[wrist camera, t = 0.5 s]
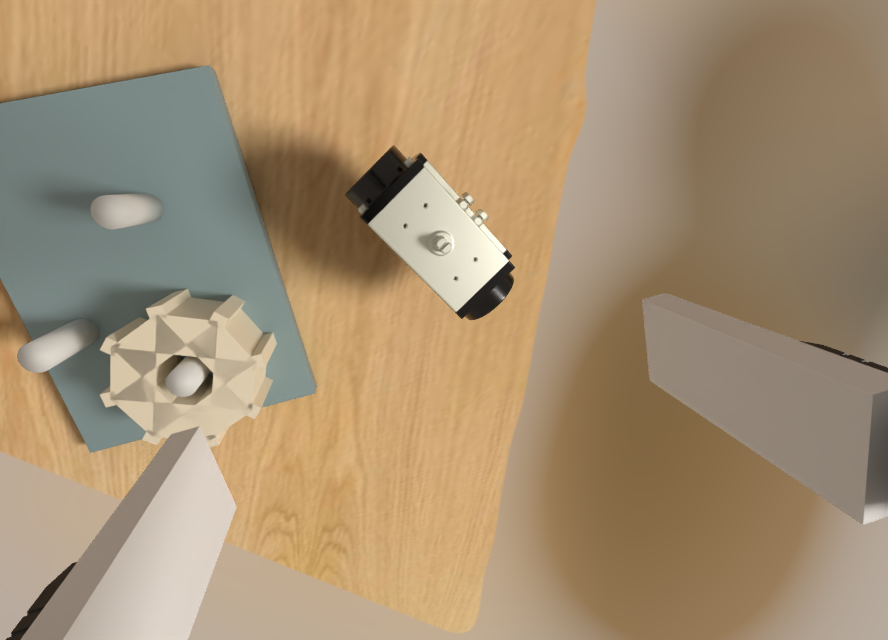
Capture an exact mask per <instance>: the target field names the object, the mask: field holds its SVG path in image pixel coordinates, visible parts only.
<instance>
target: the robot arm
mask: <svg viewBox="0 0 888 640" xmlns="http://www.w3.org/2000/svg"><path fill="white" fill-rule="evenodd" d="M642 304H643V315H644V325H645V335H646V346H647V357H648V367H649V376H650V377H649V378H650V381H651V382H653V383H654V384H656V385H657V386H659V387H660V388H661V389H663V390H665V391H666V392H667V393H669V394H670V395H672V396H673V397H675V398H676V399H678V400H679V401H681V402H682V403H684V404H685V405H687V406H688V407H690V408H691V409H693V410H694V411H695V412H697V413H698V414H700V415H701V416H703V417H704V418H706V419H707V420H709V421H710V422H712V423H713V424H715V425H716V426H718V427H719V428H721V429H722V430H724V431H725V432H726V433H728V434H729V435H731V436H732V437H734V438H735V439H737V440H738V441H740V442H741V443H743V444H744V445H746V446H747V447H749V448H750V449H752V450H753V451H754V452H756V453H757V454H759V455H761V456H762V457H763V458H765V459H766V460H768V461H769V462H771V463H772V464H774V465H775V466H777V467H778V468H780V469H781V470H783V471H784V472H786V473H787V474H788V475H790V476H791V477H793V478H794V479H796V480H797V481H799V482H800V483H802V484H803V485H805V486H806V487H808V488H809V489H811V490H812V491H814V492H815V493H817V494H818V495H819V496H821V497H823V498H824V499H825V500H827V501H828V502H830V503H831V504H833V505H834V506H836V507H837V508H839V509H840V510H842V511H843V512H845V513H846V514H848V515H849V516H851V517H852V518H853V519H855V520H856V521H858V522H859V523H861V524H862V525H864V524H867V523H870V522H872V521H875V520H878V519H881V518H884V517H887V516H888V368H887V367H884V366H881V365H878V364H876V363H873V362H868V363H867V362H866V360H864V359H861V358H858V357H855V356H853V355H848V356H847V355H846V353H844V352H841V351H839V350H836V349H833V348H830V347H827V346H824V345H820V344H814V343H809V342H803V341H797V340H795V339H792V338H789V337H786V336H783V335H781V334H778V333H775V332H772V331H770V330H767V329H764V328H761V327H758V326H756V325H753V324H750V323H747V322H745V321H742V320H739V319H736V318H733V317H731V316H728V315H725V314H722V313H719V312H717V311H714V310H711V309H708V308H705V307H703V306H700V305H697V304H695V303H692V302H689V301H686V300H683V299H681V298H678V297H675V296H672V295H670V294H667V293H663V294H660V295H656V296H653V297H650V298H646V299H643V300H642ZM235 510H236V504H235V502H234V500H233V498H232V496H231V494H230V491H229V489H228V487H227V485H226V483H225V480H224V478H223V476H222V474H221V472H220V469H219V467H218V465H217V463H216V461H215V458H214V456H213V454H212V452H211V450H210V447H209V445H208V443H207V441H206V439H205V436H204V434H203V432H202V430H201V428H200V426H198V427H195V428H191V429H188V430H184V431H181V432H177V433H174V434H171V435H170V436H169V438H168V439H167V440H166V442H165V443H164V445H163V446H162V447H161V449H160V450H159V451H158V453H157V454H156V455H155V457H154V458H153V460H152V461H151V462H150V464H149V465H148V466H147V468H146V469H145V470H144V472H143V473H142V475H141V476H140V477H139V479H138V480H137V481H136V483H135V484H134V485H133V487H132V488H131V490H130V491H129V492H128V494H127V495H126V496H125V498H124V499H123V500H122V502H121V503H120V505H119V506H118V507H117V509H116V510H115V511H114V513H113V514H112V515H111V517H110V518H109V520H108V521H107V522H106V524H105V525H104V526H103V528H102V529H101V531H100V532H99V533H98V535H97V536H96V537H95V539H94V540H93V541H92V543H91V544H90V546H89V547H88V548H87V550H86V551H85V552H84V554H83V555H82V556H81V558H80V559H79V561H78V562H75V563H72V564H71V565H70V566H69V567H68V568H67V569H66V570H65V571H63V572H62V573H61V574H60V575H59V576H58V577H57V578H56V579H55V580H53V581H52V582H51V583H50V584H49V585H48V586H47V587H46V588H45V589H44V590H43V592H42V593H41V594H40V596H39V597H38V598H37V600H36V601H35V602H34V604H33V605H32V606H31V607H30V609H29V610H28V612H27V613H28V614H27V616H25V617H23V618H22V619H21V621H20V622H19V623H18V624H17V626H16V627H15V629H14V630H13V631H12V632H11V634H12V636H11V637H9V638H7V639H6V640H188V638H189V635H190V632H191V629H192V627H193V624H194V621H195V619H196V616H197V613H198V610H199V608H200V605H201V602H202V600H203V597H204V594H205V591H206V589H207V586H208V583H209V580H210V578H211V575H212V572H213V570H214V567H215V564H216V561H217V559H218V556H219V553H220V551H221V548H222V545H223V542H224V540H225V537H226V534H227V532H228V529H229V526H230V523H231V521H232V518H233V515H234V512H235Z"/></svg>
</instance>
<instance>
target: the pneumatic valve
mask: <svg viewBox="0 0 888 640" xmlns="http://www.w3.org/2000/svg"><path fill="white" fill-rule="evenodd" d="M345 196H346V197H347V198H348V199H349V200H350V201H351V202H352V203H353V204H354V205H355V206H356V207H357V208H358V211H359V214H360V218H361V219H362V220H363V221H364V222H365V223H366V224H367V225H368V226H369V227H370V228H371V229H372V230H373V231H374V232H375V233H376V234H377V235H378V236H379V237H380V238H381V239H382V240H383V241H384V242H385V243H386V244H387V245H388V246H389V247H390V248H391V249H392V250H393V251H394V252H395V253H396V254H397V255H398V256H399V257H400V258H401V259H402V260H403V261H404V262H405V263H406V264H407V265H408V266H409V267H410V268H411V269H412V270H413V271H414V272H415V273H416V274H417V275H418V276H419V277H420V278H421V279H422V280H423V281H424V282H425V283H426V284H427V285H428V286H429V287H430V288H431V289H432V290H433V291H434V292H435V293H436V294H437V295H438V296H439V297H440V298H441V299H442V300H443V301H444V302H445V303H446V304H447V305H448V306H449V307H450V308H451V309H452V310H453V311H454V312H455V313H456V314H457V315H458V316H459V317H460V318H461V319H462V318H464V317H466V318H467V319H469V320H476V319H479V318H481V317H483V316H485V315H486V314H488V313H489V312H491V311H492V310H493V309H495V308H496V307H497V306H498V305H499V304H500V303H501V302H502V301H503V300H504V298H505V297H506V296H507V295H508V293H509V292H510V290H511V288H512V286H513V283H514V278H513V276H512V275H511V274H510V272H511V271H512V270H513V269H514V268H515V267H514V266H513V264H512V263H511V262H510V261H509V259H510V258H511V257H512V255H511V254H510V253H509V252H508V250H507V249H506V248H505V247H504V246H503V245H502V244H501V243H500V241H499V240H498V239H497V238H496V237H495V236H494V235H493V234H492V232H491V231H490V230H489V229H488V228H487V227H486V226H485V225H484V223H483V222H482V221H481V220H484V221H485V222H486V221H487V220H488V216H487V214H486V213H485V212H484V211H483V210H482V209H479V210H478V211H477V214H478V216H477V215H476V214H475V213H474V212H473V211H472V210H471V209H470V208H469V207H468V205H467V203H468V204H469V205H472V204H473V203H474V200H473V198H472V197H471V196H470V195H469V194H468V193H466V192H465V193H463V194H462V197H463V200H462V199H461V198H460V196H459V195H458V194H457V193H456V192H455V191H454V190H453V189H452V187H451V186H450V185H449V184H448V183H447V182H446V181H445V180H444V178H443V177H442V176H441V175H440V174H439V173H438V172H437V171H436V169H435V168H434V167H433V166H432V165H431V164H430V163H429V162H428V161H427V159H426V158H425V157H424V156H423V155H422V154H421V153H420V154H418V155H415V156H414V157H413V158H412V159H411V158H410V157H409V158H408V159H406V158H405V157H404V155H403V154H402V153H401V152H400V151H399V150H398V149H397V148H396V147H395V146H394V145H393V146H392V147H391V148H390V149H389V150H388V151H387V152H386V153H385V154H384V155H383V156H382V157H381V158H380V159H379V160H378V161H377V162H376V163H375V164H374V165H373V166H372V167H371V168H370V169H369V170H368V171H367V172H366V173H365V174H364V175H363V176H362V177H361V178H360V179H359V180H358V181H357V182H356V184H355V185H354V186H353V187H352V188H351V189H350V190H349V191H348V192H347V193H346V194H345Z"/></svg>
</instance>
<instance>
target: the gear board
mask: <svg viewBox="0 0 888 640" xmlns="http://www.w3.org/2000/svg"><path fill="white" fill-rule="evenodd" d="M0 279H1V281H2V283H3V285H4V287H5V289H6V291H7V293H8V295H9V296H10V298H11V300H12V302H13V304H14V306H15V308H16V310H17V312H18V314H19V316H20V318H21V320H22V322H23V323H24V325H25V327H26V329H27V331H28V333H29V335H30V337H31V339H32V341H31V342H29V343H27V344H25V345H23V346H22V347H21V348H20V349H19V350H18V353H17V358H18V361H19V363H20V364H21V366H22V367H24V368H25V369H26V370H28V371H31V372H35V373H41V372H45V371H48V372H49V374H50V376H51V377H52V379H53V381H54V383H55V385H56V387H57V389H58V391H59V393H60V395H61V397H62V399H63V401H64V403H65V404H66V406H67V408H68V410H69V412H70V414H71V416H72V418H73V420H74V422H75V424H76V426H77V428H78V430H79V432H80V433H81V435H82V437H83V439H84V441H85V443H86V445H87V447H88V449H89V451H90V453H91V452H95V451H99V450H102V449H106V448H110V447H114V446H118V445H121V444H125V443H129V442H133V441H137V440H140V439H142V440H144V441H147V442H149V443H152V444H154V445H157V444H158V443H159V441H160V440H161V439H162V438H169V436H170V435H171V434H174V433H177V432H181V431H184V430H188V429H191V428H195V427H198V426H200V428H201V430H202V432H203V434H204V436H205V439H206V441H207V443H208V445H209V447H213V446H216V445H219V444H220V442H221V440H222V439H223V437H224V435H225V433H226V431H227V429H228V428H229V427H230V426H231V425H233V424H234V423H236V422H237V421H238V420H240V419H241V418H242V417H244V416H245V415H246V416H249V417H251V418H253V419H255V418H256V416H257V415H258V413H259V411H260V410H261V408H262V407H265V406H269V405H273V404H277V403H281V402H284V401H288V400H292V399H296V398H300V397H303V396H307V395H311V394H315V392H316V387H317V385H316V382H315V379H314V376H313V373H312V370H311V367H310V364H309V360H308V357H307V354H306V351H305V348H304V345H303V342H302V339H301V336H300V333H299V329H298V326H297V323H296V320H295V317H294V314H293V311H292V308H291V305H290V302H289V298H288V295H287V292H286V289H285V286H284V283H283V280H282V277H281V274H280V271H279V267H278V264H277V261H276V258H275V255H274V252H273V249H272V246H271V243H270V240H269V236H268V233H267V230H266V227H265V224H264V221H263V218H262V215H261V212H260V209H259V205H258V202H257V199H256V196H255V193H254V190H253V187H252V184H251V181H250V178H249V174H248V171H247V168H246V165H245V162H244V159H243V156H242V153H241V150H240V147H239V143H238V140H237V137H236V134H235V131H234V128H233V125H232V122H231V119H230V116H229V112H228V109H227V106H226V103H225V100H224V97H223V94H222V91H221V88H220V85H219V81H218V78H217V75H216V72H215V70H214V69H212V68H211V67H210V66H209V65H208V66H203V67H197V68H192V69H186V70H181V71H175V72H170V73H164V74H159V75H153V76H148V77H142V78H137V79H132V80H126V81H121V82H115V83H110V84H104V85H99V86H93V87H88V88H82V89H77V90H71V91H66V92H60V93H55V94H49V95H44V96H38V97H33V98H27V99H22V100H16V101H11V102H5V103H0Z"/></svg>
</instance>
